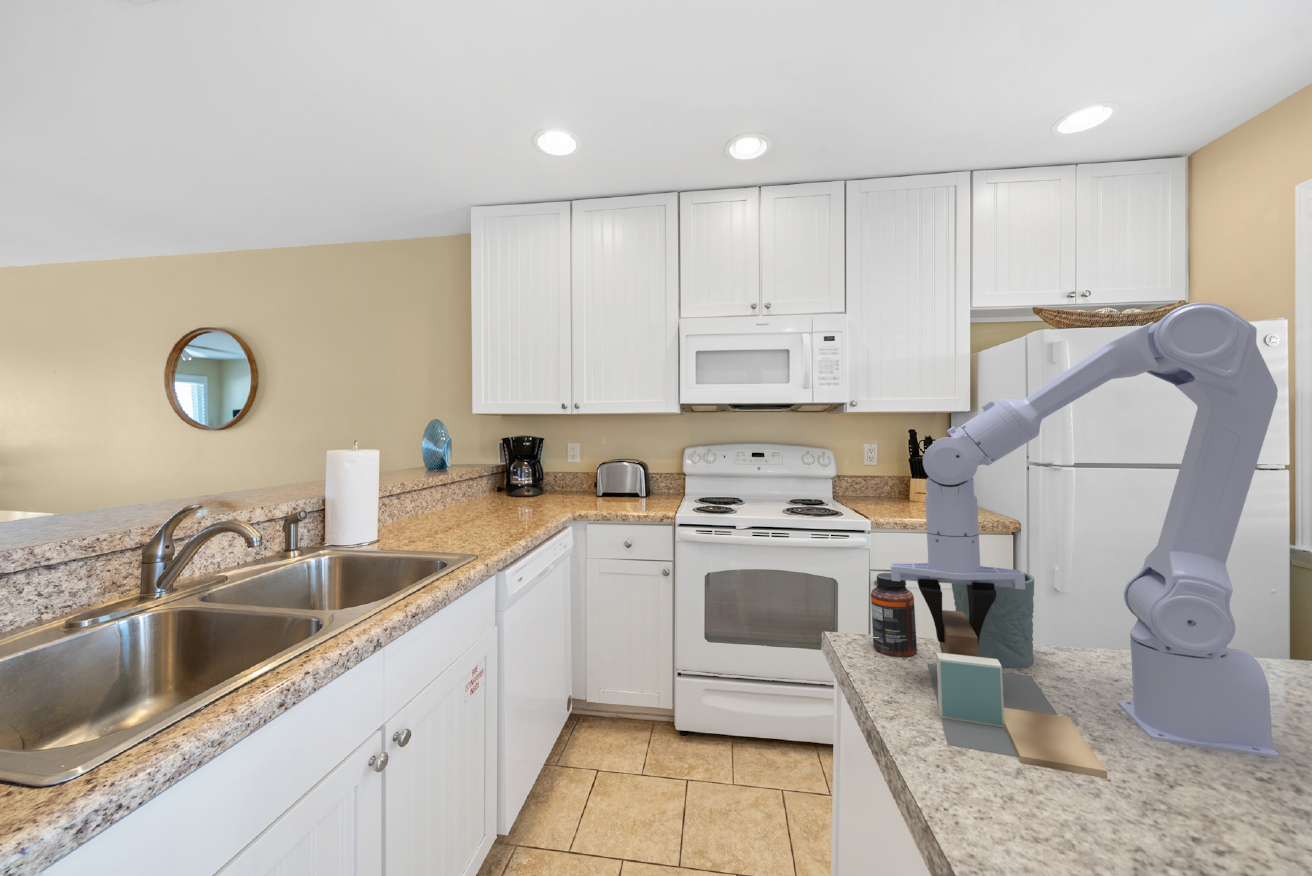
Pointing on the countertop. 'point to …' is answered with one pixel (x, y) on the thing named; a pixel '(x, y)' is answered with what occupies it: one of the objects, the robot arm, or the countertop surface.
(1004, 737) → the mat
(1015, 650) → the teal textured planter
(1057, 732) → the trivet
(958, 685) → the tile
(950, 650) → the brown rectangular block
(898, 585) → the supplement bottle
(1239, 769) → the countertop surface
